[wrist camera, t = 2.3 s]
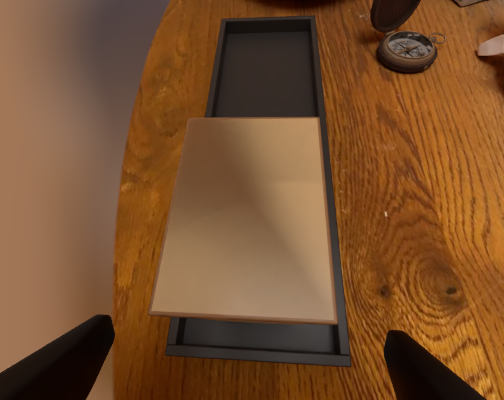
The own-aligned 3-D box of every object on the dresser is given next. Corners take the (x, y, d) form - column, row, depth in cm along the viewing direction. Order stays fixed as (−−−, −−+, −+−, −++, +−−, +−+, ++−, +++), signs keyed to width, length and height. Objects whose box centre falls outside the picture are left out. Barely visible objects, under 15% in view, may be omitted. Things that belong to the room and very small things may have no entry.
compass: (399, 82, 28) (440, 6, 21) (357, 41, 31) (380, -35, 24) (459, 58, 29) (516, -21, 22) (412, 22, 32) (448, -56, 25)
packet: (295, 325, 17) (338, 325, 7) (220, 321, 18) (146, 314, 7) (292, 226, 20) (319, 116, 10) (229, 225, 21) (187, 117, 10)
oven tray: (342, 362, 17) (352, 367, 15) (175, 352, 18) (164, 355, 16) (312, 33, 32) (315, 15, 30) (224, 36, 33) (221, 18, 31)
